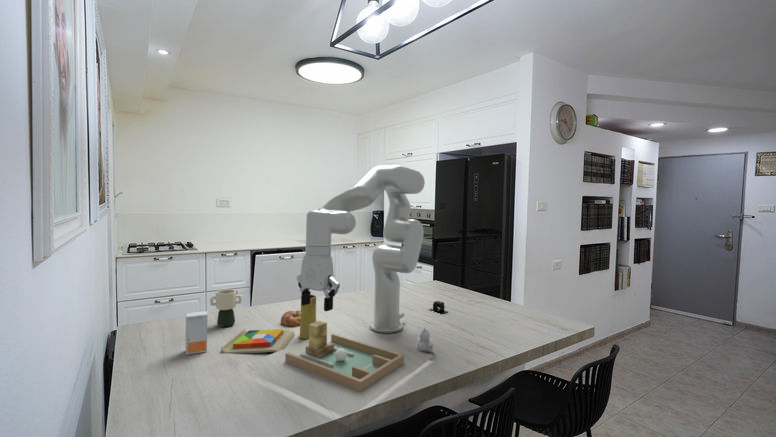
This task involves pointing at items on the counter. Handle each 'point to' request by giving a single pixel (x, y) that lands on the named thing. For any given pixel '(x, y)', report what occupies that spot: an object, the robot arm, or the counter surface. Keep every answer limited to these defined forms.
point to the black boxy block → (438, 305)
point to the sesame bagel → (291, 318)
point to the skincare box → (196, 332)
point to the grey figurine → (425, 342)
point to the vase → (307, 317)
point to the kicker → (318, 340)
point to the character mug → (225, 306)
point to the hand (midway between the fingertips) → (316, 307)
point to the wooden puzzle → (258, 341)
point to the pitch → (350, 363)
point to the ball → (341, 354)
